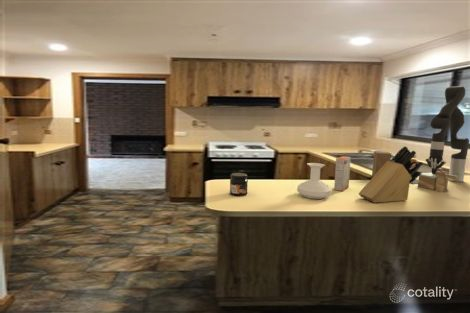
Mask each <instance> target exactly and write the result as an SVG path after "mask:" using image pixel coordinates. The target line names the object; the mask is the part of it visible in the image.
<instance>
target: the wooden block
mask: <svg viewBox="0 0 470 313" xmlns="http://www.w3.org/2000/svg"><path fill="white" fill-rule="evenodd" d="M391 157H392V153H390V152H389V151H376V150H375V151H374V152H373V161H372V170H371V171H372V172H371V177H372V178H373V177H374V175H375V174H376V173H377V172H378V171H379V170H380V169H381V168H382V167H383V166H384V164H385V163H386V162H387V161H391V160H392V158H391Z"/></svg>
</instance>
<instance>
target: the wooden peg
mask: <svg viewBox="0 0 470 313" xmlns="http://www.w3.org/2000/svg"><path fill="white" fill-rule="evenodd" d="M437 172H440V171H436V173H435V176H437ZM457 177H458V176H455V175H450V174H445V177H444V178H448V179H453V180H457Z"/></svg>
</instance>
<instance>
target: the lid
mask: <svg viewBox="0 0 470 313" xmlns="http://www.w3.org/2000/svg"><path fill="white" fill-rule="evenodd" d="M443 170H444V169H443V168H442V167H441V168H438V169H437V171H440V172H444V171H443ZM421 176H425V177H430V178H434V179H435V178H437V176H435V174H432V172H422V173H421Z"/></svg>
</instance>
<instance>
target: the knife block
mask: <svg viewBox="0 0 470 313" xmlns="http://www.w3.org/2000/svg"><path fill="white" fill-rule="evenodd" d="M416 154H417V152H416V151H415V150H412V151H410V150H409V148H408V146H406V145H405V146H403V147H402V148H401V149H399V150H398V151H397V153H396V154H395V155H393V157H392V158H391V160H390V161H387V162H386V163H385V164H384V166H383V167H382V168H381V169H380V170H379V171H378V172H377V173H376V174H375V175H374V177H373V176H372V178H371V179H370V180H369V181H368V182H367V183H366V184H365V186H363V187H362V189H361V190H360V191H359V192H358V195H359V196H360V198H363V199H366V200H367V201H370V202H373V203H374V204H377V203H389V202H398V201H400V202H401V201H407V200H408V195H409V190H410V185H411V183H412V182H413V181H414V180H415V179H418V178H419V175H421V173H423V172H422V171H419V169H420V168H421V166H423V165H424V163H423V162H421V161H420V162H418V163H417V161H412V159H413V158H414V156H415V155H416ZM414 164H415V165H414ZM413 165H414V166H413Z"/></svg>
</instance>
